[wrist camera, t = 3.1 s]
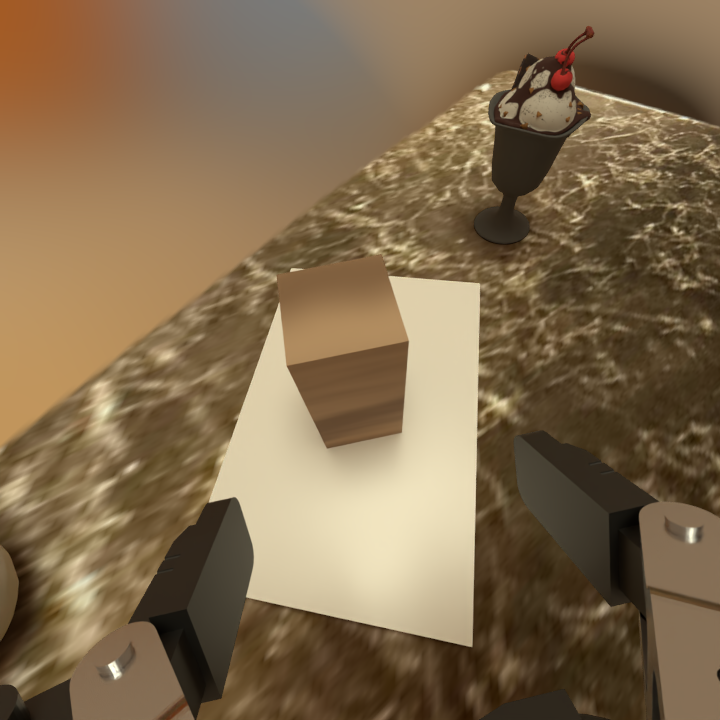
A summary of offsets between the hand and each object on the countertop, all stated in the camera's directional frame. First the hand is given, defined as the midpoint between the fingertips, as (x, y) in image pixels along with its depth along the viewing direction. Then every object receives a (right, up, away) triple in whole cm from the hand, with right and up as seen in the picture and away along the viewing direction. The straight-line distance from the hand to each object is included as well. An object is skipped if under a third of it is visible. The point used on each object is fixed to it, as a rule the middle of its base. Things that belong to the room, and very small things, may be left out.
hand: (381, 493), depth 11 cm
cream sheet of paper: (-1, 0, +16) cm, 16 cm away
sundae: (+13, +16, +24) cm, 32 cm away
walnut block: (-1, +1, +15) cm, 15 cm away
